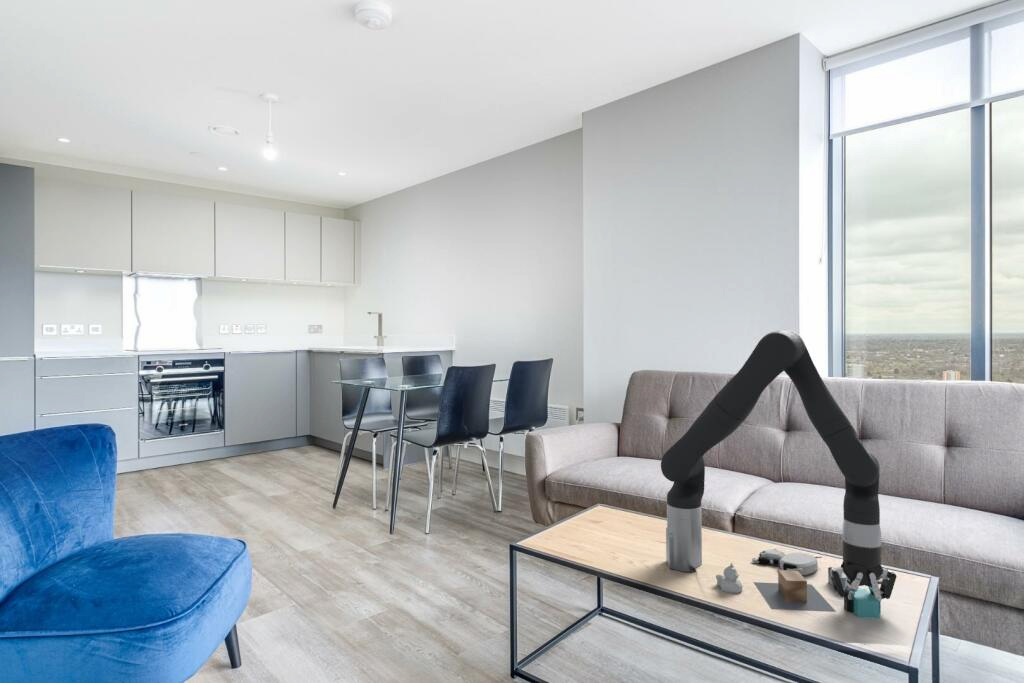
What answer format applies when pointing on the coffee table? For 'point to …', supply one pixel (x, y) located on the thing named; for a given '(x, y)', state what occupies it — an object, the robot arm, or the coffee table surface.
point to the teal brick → (866, 604)
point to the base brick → (792, 586)
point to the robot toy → (789, 561)
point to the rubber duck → (729, 580)
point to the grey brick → (840, 579)
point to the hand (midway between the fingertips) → (862, 614)
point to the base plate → (779, 602)
